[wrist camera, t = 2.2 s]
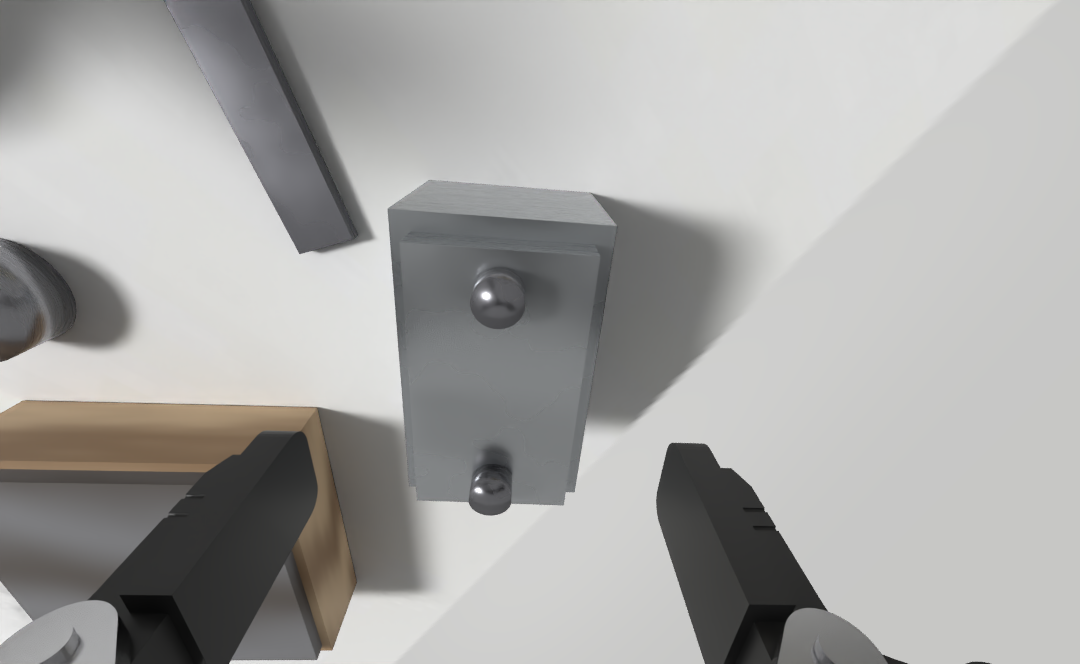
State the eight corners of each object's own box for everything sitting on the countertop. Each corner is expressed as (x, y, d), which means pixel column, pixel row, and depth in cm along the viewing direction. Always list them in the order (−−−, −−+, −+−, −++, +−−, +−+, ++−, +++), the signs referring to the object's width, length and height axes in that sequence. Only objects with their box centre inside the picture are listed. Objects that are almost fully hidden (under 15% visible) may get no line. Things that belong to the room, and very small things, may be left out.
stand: (22, 400, 18) (-102, 471, 14) (316, 407, 19) (267, 477, 15) (131, 581, 23) (61, 665, 20) (356, 582, 24) (327, 664, 20)
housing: (430, 179, 15) (361, 226, 9) (590, 192, 15) (633, 246, 9) (437, 397, 19) (394, 533, 13) (563, 403, 19) (580, 539, 13)
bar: (72, -218, 11) (30, -250, 10) (144, -249, 10) (107, -283, 9) (312, 246, 16) (299, 254, 15) (362, 232, 16) (352, 239, 15)
